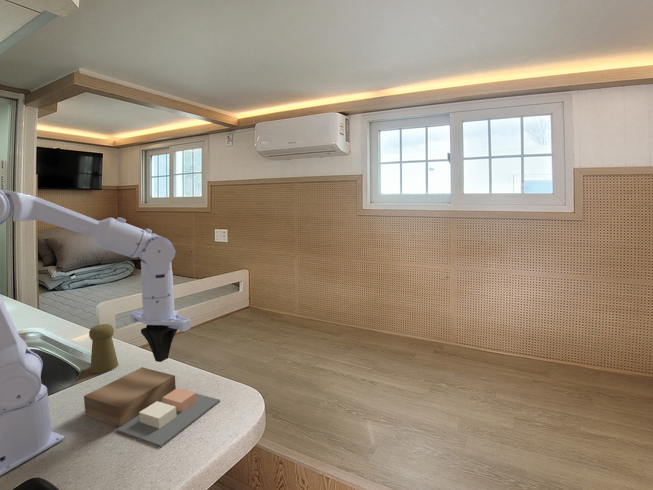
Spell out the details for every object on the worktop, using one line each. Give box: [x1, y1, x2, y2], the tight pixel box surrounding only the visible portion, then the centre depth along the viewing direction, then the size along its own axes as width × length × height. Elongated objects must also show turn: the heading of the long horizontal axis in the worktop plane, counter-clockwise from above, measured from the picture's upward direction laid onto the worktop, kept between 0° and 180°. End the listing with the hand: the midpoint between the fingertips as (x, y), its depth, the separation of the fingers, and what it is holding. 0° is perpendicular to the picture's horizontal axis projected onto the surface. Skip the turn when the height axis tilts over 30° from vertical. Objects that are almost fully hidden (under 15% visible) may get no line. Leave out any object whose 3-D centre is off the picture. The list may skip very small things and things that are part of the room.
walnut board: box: [83, 367, 177, 428], centre depth 72 cm, size 13×10×4 cm
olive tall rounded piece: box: [88, 323, 119, 374], centre depth 88 cm, size 6×6×11 cm
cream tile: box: [139, 401, 177, 429], centre depth 66 cm, size 4×5×2 cm
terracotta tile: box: [162, 387, 197, 412], centre depth 71 cm, size 4×5×2 cm
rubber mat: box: [115, 393, 221, 448], centre depth 68 cm, size 15×11×1 cm
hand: (161, 359), depth 72 cm, fingers closed
